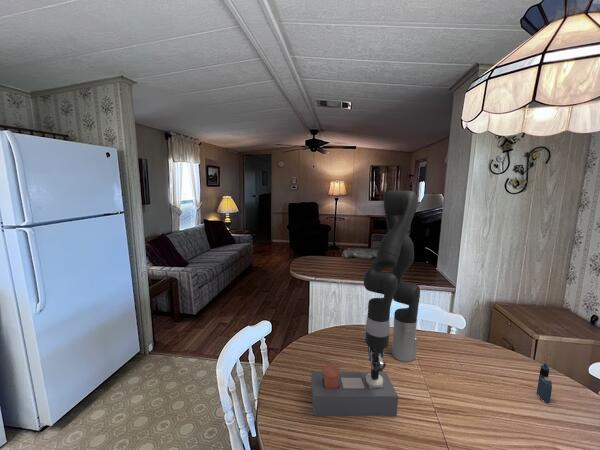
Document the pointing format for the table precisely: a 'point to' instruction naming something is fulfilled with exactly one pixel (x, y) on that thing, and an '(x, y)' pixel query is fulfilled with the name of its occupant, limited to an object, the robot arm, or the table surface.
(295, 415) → the table surface
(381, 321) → the robot arm
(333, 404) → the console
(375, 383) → the white plunger
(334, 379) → the red plunger
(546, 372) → the vaping device
